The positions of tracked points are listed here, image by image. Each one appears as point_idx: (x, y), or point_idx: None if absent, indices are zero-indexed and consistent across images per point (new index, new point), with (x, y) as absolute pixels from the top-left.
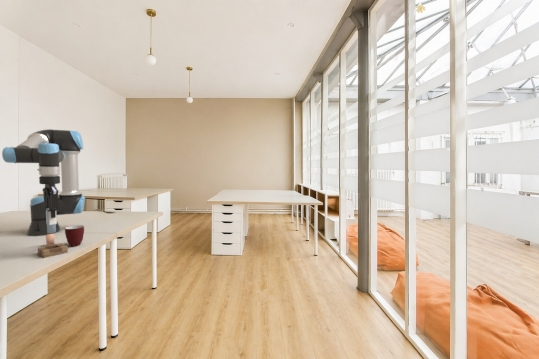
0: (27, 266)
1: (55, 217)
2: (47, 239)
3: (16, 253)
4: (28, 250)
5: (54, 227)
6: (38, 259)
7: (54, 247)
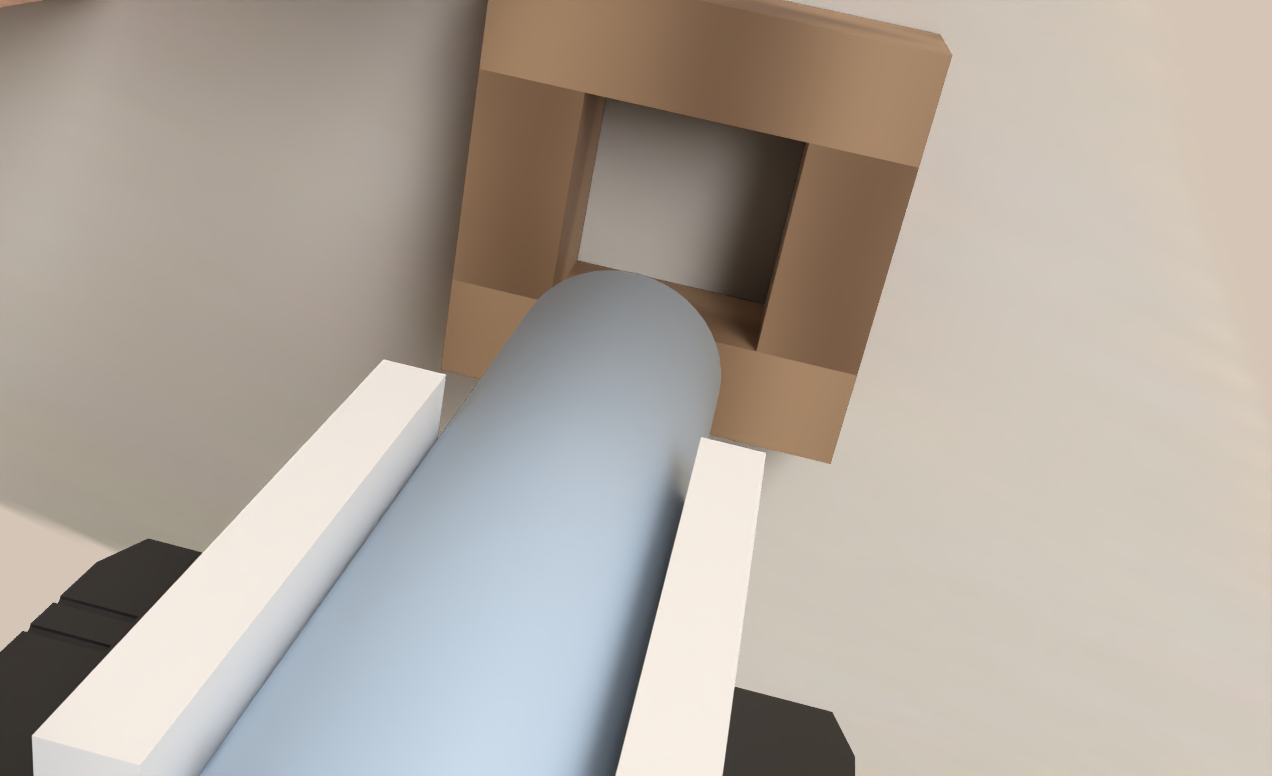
0: (1009, 696)
1: (833, 716)
2: (8, 2)
3: (144, 440)
4: (110, 281)
5: (697, 421)
6: (824, 478)
7: (585, 130)
